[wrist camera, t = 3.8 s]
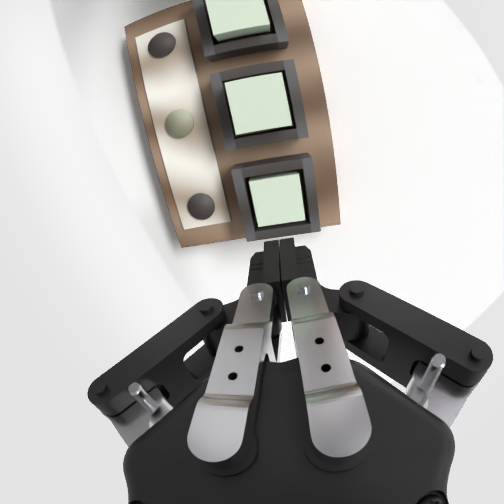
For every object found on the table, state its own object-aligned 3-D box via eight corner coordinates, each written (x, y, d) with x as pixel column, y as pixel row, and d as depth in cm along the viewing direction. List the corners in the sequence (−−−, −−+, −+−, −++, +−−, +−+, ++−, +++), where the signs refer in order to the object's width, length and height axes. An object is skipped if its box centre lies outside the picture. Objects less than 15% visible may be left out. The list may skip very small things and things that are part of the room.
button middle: (228, 85, 18) (224, 82, 16) (280, 76, 17) (281, 72, 15) (239, 132, 20) (235, 134, 18) (290, 124, 19) (292, 125, 17)
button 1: (209, 3, 14) (204, -6, 12) (259, -7, 13) (258, -17, 12) (218, 41, 16) (213, 35, 14) (270, 31, 15) (269, 24, 13)
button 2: (250, 175, 23) (248, 181, 21) (296, 168, 22) (298, 174, 20) (259, 217, 25) (258, 227, 23) (302, 211, 24) (305, 220, 22)
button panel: (135, 31, 18) (111, 21, 14) (293, -9, 16) (297, -30, 11) (187, 236, 30) (174, 260, 25) (335, 214, 27) (346, 235, 23)
